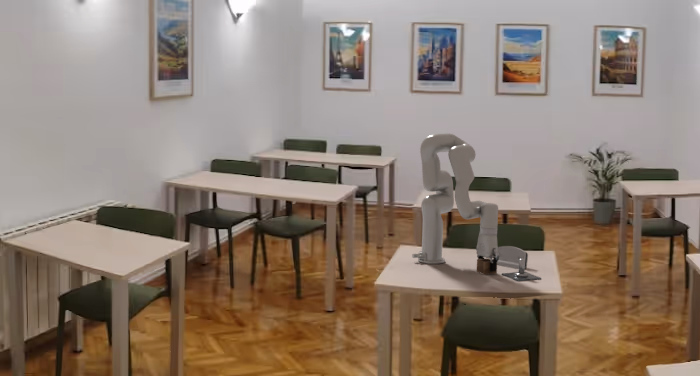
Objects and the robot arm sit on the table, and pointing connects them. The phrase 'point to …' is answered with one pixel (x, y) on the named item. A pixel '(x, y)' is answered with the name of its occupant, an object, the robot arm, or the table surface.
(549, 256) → the table surface
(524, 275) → the post
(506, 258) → the hinge
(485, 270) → the collar
